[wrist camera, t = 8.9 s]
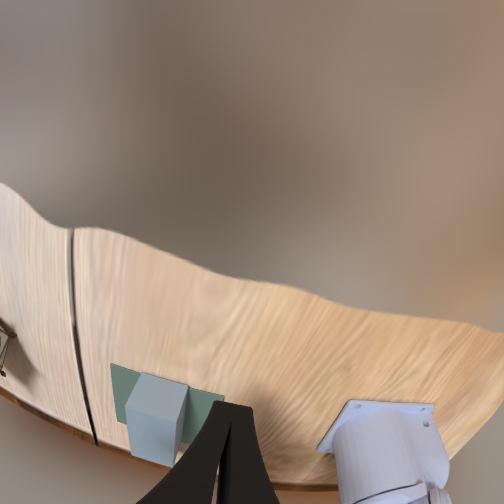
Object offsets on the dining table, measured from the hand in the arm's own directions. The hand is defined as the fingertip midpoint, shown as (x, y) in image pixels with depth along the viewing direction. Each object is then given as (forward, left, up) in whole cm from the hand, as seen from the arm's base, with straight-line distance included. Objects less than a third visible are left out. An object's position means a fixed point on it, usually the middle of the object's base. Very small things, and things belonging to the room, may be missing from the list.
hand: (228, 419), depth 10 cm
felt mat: (+5, +15, -10) cm, 19 cm away
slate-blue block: (+5, +10, -8) cm, 14 cm away
